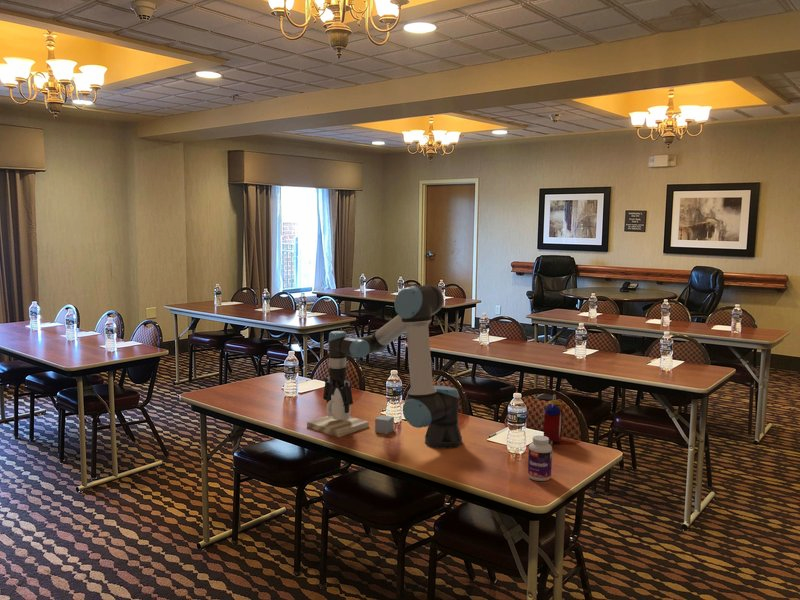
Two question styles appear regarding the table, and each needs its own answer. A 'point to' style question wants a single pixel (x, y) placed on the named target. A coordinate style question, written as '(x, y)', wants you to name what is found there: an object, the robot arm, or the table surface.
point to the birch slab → (337, 425)
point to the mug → (336, 407)
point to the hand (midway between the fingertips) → (337, 417)
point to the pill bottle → (540, 459)
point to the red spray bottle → (553, 421)
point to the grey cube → (384, 424)
